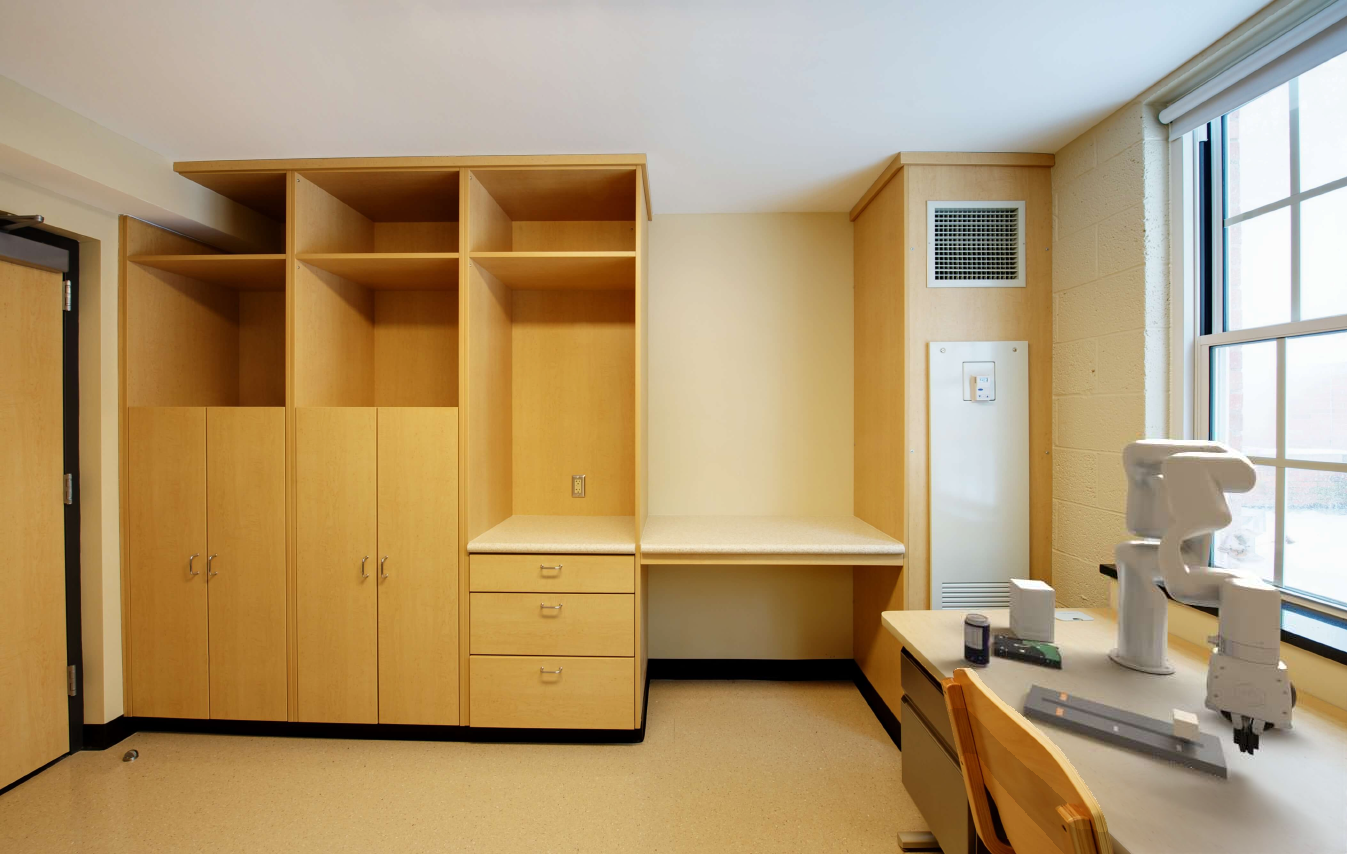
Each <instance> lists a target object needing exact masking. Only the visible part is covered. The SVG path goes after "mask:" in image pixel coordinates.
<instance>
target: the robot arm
mask: <svg viewBox="0 0 1347 854" xmlns="http://www.w3.org/2000/svg"><path fill="white" fill-rule="evenodd" d="M1121 460H1122V465H1123V469H1124V472H1125V474H1126V477H1127V478H1126V479H1127V483H1128V487H1127V496H1126V506H1125V528H1126V530H1127V532H1128V533H1129V534H1130V535H1133V536H1134V537H1138V538H1143V539H1149V540H1160V541H1149V540H1138V539H1137V540H1126V541H1125V540H1124V541H1122V542H1120V543H1118V544H1117V545H1116V546H1115V548H1114V552H1113V553H1114V561H1115V562H1114V563H1115V568H1116V572H1117V582H1118V583H1117V584H1118V588H1117V589H1118V593H1117V599H1118V601H1117V604H1118V605H1117V647H1114V648H1112V649H1110V650H1109V657H1110V658H1112V660H1113V661H1115V662H1116V663H1118V664H1120V665H1123V666H1124V667H1128V668H1130V669H1133V670H1137V671H1140V672H1143V673H1144V672H1145V673H1150V674H1156V675H1157V674H1158V675H1169V674H1173V673H1174V672H1175V671H1176V665H1175V664H1174V662H1172V661H1171V660H1169V659H1168V619H1169V617H1168V613H1169V612H1168V610H1169V607H1168V606H1169V603H1168V602H1169V601H1168V598H1167V596H1166V594H1165V592H1164V591H1163V590H1162V589H1161V588H1160V587H1159V586H1158V585H1157V584H1156V581H1160V582H1161V581H1162V582H1163V584H1164V587H1165V590H1166V591H1167V593H1168V594H1169V596H1170V597H1171V598H1172V599H1173V600H1174V601H1177V602H1179V603H1181V604H1185V605H1193V606H1201V607H1210V608H1218V621H1217V622H1218V625H1217V626H1218V627H1217V629H1218V632H1217V634H1216V635H1212V636H1211V635H1206V643H1207V644H1212V645H1213V646H1215V647H1214V648H1213V649H1212V651H1211V655H1210V658H1209V664H1208V668H1207V675H1206V677H1207V678H1206V687H1205V688H1206V698H1205V699H1204V701H1203V702H1204V703H1203V704H1204V706H1205V708H1206V709H1208V710H1211V711H1213V712H1215V713H1217V714H1220V715H1222V716H1223V718H1225V719H1226V720H1227V721H1228V722H1229V723H1230V724H1231V725H1232V727H1233V731H1232V732H1233V735H1232V737H1233V738H1232V739H1233V744H1236V745H1238V749H1239V751H1240V753H1244V754H1245V753H1247V754H1249V755H1250V756H1254V754H1255V753H1254V750H1257V751H1259V750H1260V735H1262V734H1263V733H1264V732H1266V731H1269V730H1271V729H1274V728H1275V729H1281V730H1292V729H1293V725H1292V719H1293V709H1292V701H1291V688H1290V682H1291V680H1290V676H1289V671H1288V668H1287V666H1286V665H1285V664H1284V663H1283V662H1282V661H1281V660H1280V659H1281V658H1280V657H1281V627H1282V626H1281V625H1282V624H1281V623H1282V621H1281V618H1282V617H1281V616H1282V595H1281V594H1282V593H1281V592H1280V590H1278V589H1279V588H1277V587H1276V586H1274V585H1272V584H1269V583H1265V582H1264V580H1263V579H1262V578H1261V577H1260V576H1258V575H1257V574H1256V573H1253V572H1251V571H1247V570H1242V569H1231V568H1222V567H1210V566H1209V564H1210V563H1209V562H1210V555H1211V547H1212V539H1213V538H1212V537H1213V533H1214V532H1218V531H1220V530H1223V529H1225V528H1227V527H1228V526H1229V525H1231V523H1232V521H1233V518H1232V517H1233V516H1232V513H1231V510H1230V508H1229V506H1228V504H1227V499H1226V498H1225V494H1226V493H1229V494H1245V493H1248V492H1251V490H1253V489H1254V487H1255V485H1256V483H1257V472H1256V469H1255V468H1254V465H1253V464H1252V462H1251V461H1250V460H1249V459H1248V458H1247V457H1246V456H1245V455H1244V454H1242V453H1241V452H1239V451H1237V450H1235V449H1233V448H1231V447H1229V446H1227V445H1225V444H1223V443H1220V442H1217V441H1213V440H1183V439H1182V440H1181V439H1179V440H1175V439H1143V440H1142V439H1141V440H1135V441H1131V442H1129V443H1128V444H1126V445H1125V447H1124V448H1123V451H1122V458H1121ZM1224 493H1225V494H1224ZM1242 716H1243V717H1247V718H1250V720H1249V723H1247V725H1245V723H1244V722H1243V721H1242Z"/></svg>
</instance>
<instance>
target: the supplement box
mask: <svg viewBox="0 0 1347 854" xmlns="http://www.w3.org/2000/svg"><path fill="white" fill-rule="evenodd" d="M1055 607H1056V591H1055V590H1054V589H1053V588H1052V587H1051V586H1049V584H1046V583H1045V582H1044V581H1041V580H1029V579H1017V578H1016V579H1015V578H1010V579H1009V619H1008V620H1009V621H1008V622H1009V623H1008V625H1009V629H1010V630H1011V631H1012V632H1013V633H1014V634H1015V635H1016V637H1018V638H1017V639H1022V640H1027V641H1035V642H1038V641H1039V642H1046V643H1055V613H1056V611H1055V610H1056V609H1055Z"/></svg>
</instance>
